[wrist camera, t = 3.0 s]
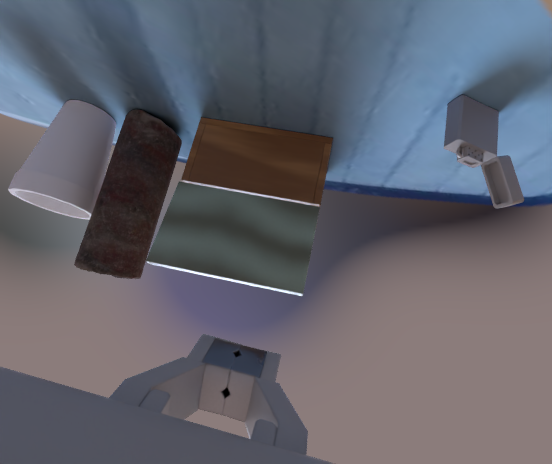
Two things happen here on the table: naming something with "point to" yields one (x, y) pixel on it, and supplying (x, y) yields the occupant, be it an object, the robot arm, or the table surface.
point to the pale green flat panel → (237, 237)
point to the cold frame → (259, 161)
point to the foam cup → (68, 161)
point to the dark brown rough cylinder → (130, 198)
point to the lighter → (481, 148)
